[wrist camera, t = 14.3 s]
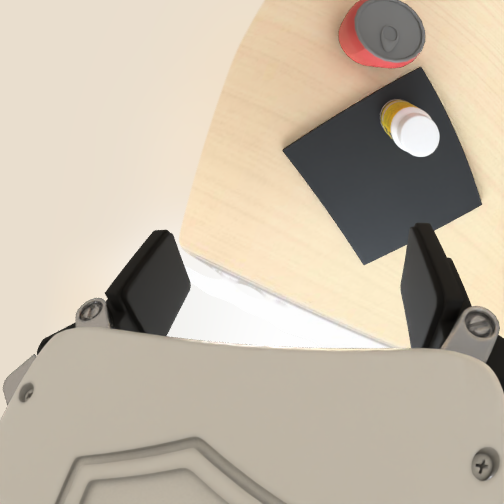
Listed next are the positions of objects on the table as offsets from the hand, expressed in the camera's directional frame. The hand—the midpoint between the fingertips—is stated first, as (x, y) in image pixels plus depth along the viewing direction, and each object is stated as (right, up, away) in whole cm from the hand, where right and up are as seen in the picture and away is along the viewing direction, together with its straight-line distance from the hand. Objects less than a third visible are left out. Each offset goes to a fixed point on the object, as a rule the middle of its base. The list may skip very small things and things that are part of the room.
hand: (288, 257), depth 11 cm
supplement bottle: (+15, +15, +17) cm, 28 cm away
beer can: (+11, +23, +13) cm, 29 cm away
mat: (+16, +10, +22) cm, 29 cm away
